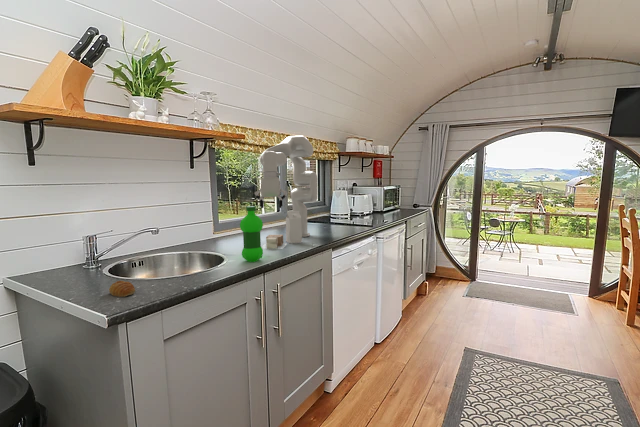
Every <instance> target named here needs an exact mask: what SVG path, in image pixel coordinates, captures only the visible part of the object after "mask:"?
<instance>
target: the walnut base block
mask: <svg viewBox="0 0 640 427" xmlns="http://www.w3.org/2000/svg"><path fill="white" fill-rule="evenodd" d="M267 238H278V246H281V245H282V244H283V243H284V234H267V236H266V237H265V240H266V239H267ZM266 246H267V243H266Z"/></svg>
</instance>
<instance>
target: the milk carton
mask: <svg viewBox="0 0 640 427" xmlns="http://www.w3.org/2000/svg"><path fill="white" fill-rule="evenodd" d="M286 212H287V213H286V217H285V241H286V242H287V243H288V244H298V243H303V237H302V225H301V216H300V214H299V211H293V210H291V211H286ZM286 242H285V243H286Z"/></svg>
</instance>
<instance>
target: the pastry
mask: <svg viewBox="0 0 640 427" xmlns="http://www.w3.org/2000/svg"><path fill="white" fill-rule="evenodd" d="M108 291H109V294H110V295H111V296H114V297H118V298H121V297H124V298H126V297H127V296H131V295H134V294H135V292H136V289H135V286H134V285H133V284H132V282H130V281H124V280H117V281H115V282H113V283H112V284H111V285H110V287H109V288H108Z"/></svg>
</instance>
